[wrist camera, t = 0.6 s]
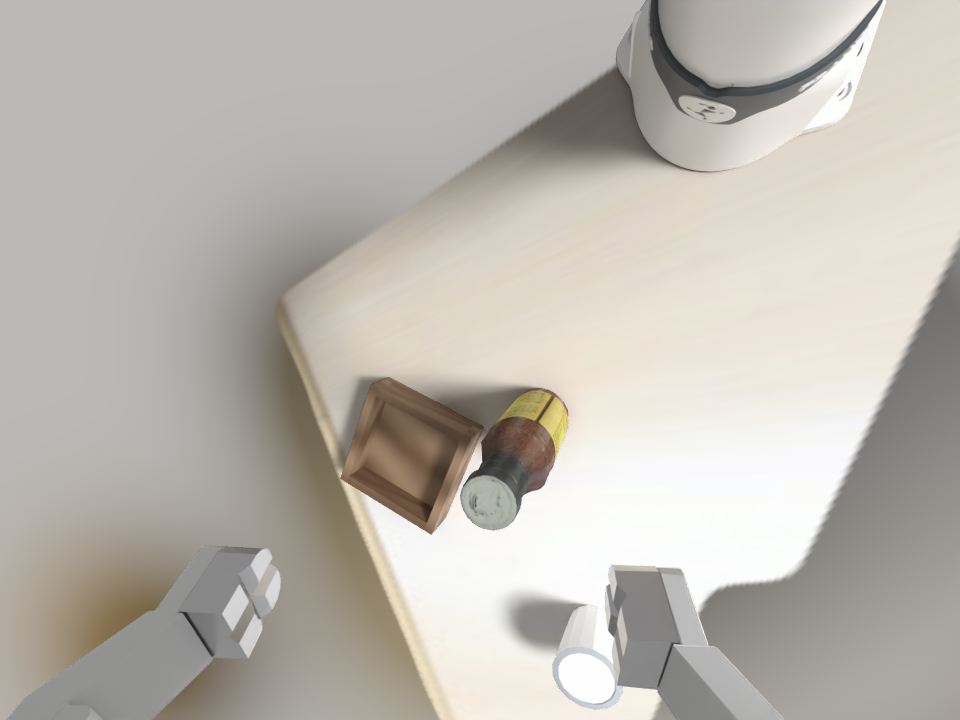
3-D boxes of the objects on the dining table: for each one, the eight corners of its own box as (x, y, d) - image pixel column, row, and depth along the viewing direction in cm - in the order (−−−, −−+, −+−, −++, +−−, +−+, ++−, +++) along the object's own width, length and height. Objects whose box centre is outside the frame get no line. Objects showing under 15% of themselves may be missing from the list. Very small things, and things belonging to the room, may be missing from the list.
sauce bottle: (503, 419, 50) (421, 502, 31) (533, 374, 48) (463, 435, 29) (553, 455, 49) (497, 563, 30) (585, 410, 46) (546, 497, 28)
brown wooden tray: (389, 377, 54) (370, 384, 50) (483, 427, 51) (471, 438, 47) (359, 465, 58) (340, 478, 54) (445, 517, 55) (431, 534, 51)
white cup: (552, 626, 52) (539, 676, 46) (584, 587, 50) (575, 634, 43) (603, 666, 51) (597, 723, 44) (639, 628, 49) (638, 682, 42)
